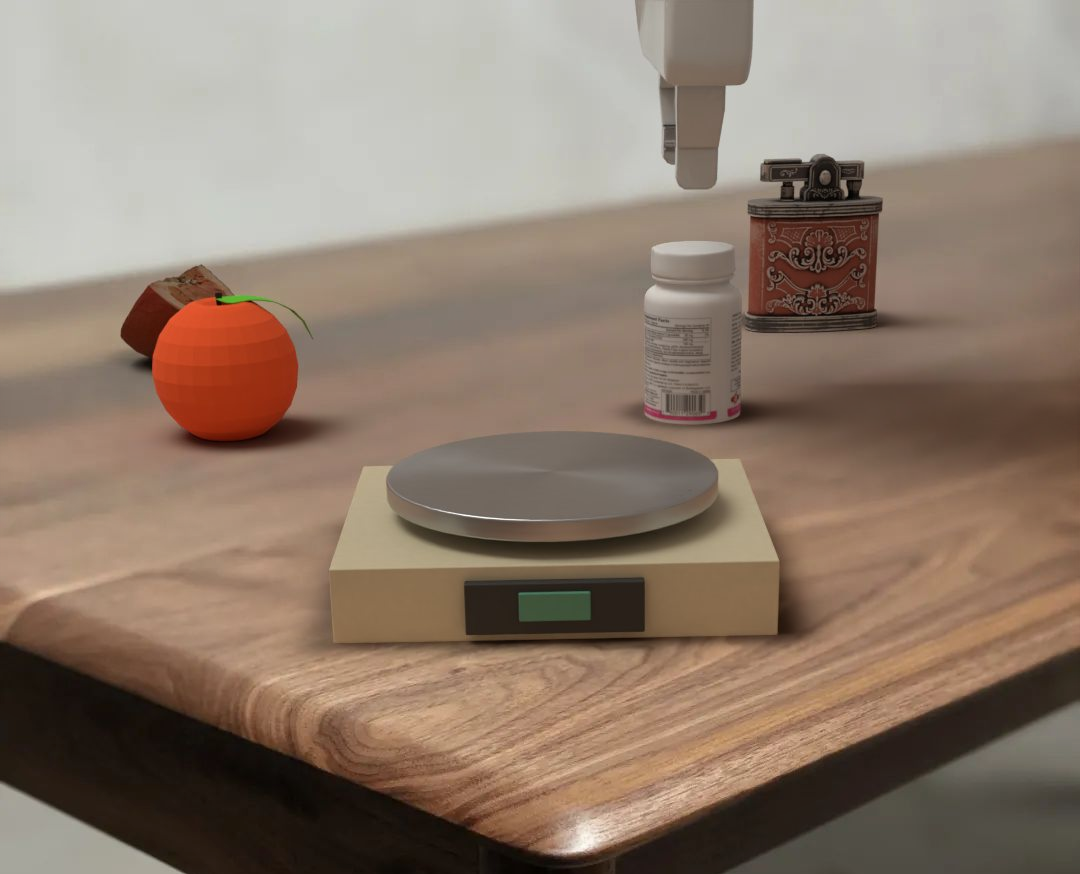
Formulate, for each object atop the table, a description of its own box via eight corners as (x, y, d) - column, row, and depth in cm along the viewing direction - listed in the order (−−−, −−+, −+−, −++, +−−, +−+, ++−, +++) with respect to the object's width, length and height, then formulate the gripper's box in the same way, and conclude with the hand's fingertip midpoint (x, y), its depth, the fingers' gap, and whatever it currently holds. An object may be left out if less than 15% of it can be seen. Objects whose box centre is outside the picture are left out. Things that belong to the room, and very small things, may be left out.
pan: (704, 447, 72) (704, 427, 72) (733, 539, 61) (734, 516, 61) (398, 453, 72) (397, 433, 72) (373, 546, 61) (372, 523, 61)
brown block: (162, 343, 112) (153, 259, 110) (267, 346, 110) (260, 261, 108) (103, 373, 104) (93, 284, 102) (216, 376, 103) (207, 286, 101)
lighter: (869, 318, 114) (877, 150, 110) (882, 329, 111) (891, 156, 107) (740, 322, 114) (744, 154, 110) (749, 333, 111) (753, 160, 107)
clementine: (293, 414, 94) (283, 273, 91) (346, 443, 88) (336, 293, 86) (141, 435, 91) (125, 289, 88) (185, 467, 85) (170, 311, 82)
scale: (738, 530, 74) (740, 458, 73) (779, 650, 62) (781, 565, 61) (367, 538, 74) (362, 465, 73) (332, 659, 62) (326, 574, 61)
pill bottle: (696, 404, 94) (699, 235, 91) (760, 421, 91) (764, 246, 87) (624, 419, 92) (623, 246, 88) (686, 437, 88) (688, 258, 85)
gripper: (797, -161, 72) (781, 204, 77) (743, -142, 91) (733, 151, 96) (635, -160, 72) (630, 205, 77) (615, -141, 91) (612, 152, 96)
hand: (687, 175), depth 87 cm, fingers open, 8 cm apart
